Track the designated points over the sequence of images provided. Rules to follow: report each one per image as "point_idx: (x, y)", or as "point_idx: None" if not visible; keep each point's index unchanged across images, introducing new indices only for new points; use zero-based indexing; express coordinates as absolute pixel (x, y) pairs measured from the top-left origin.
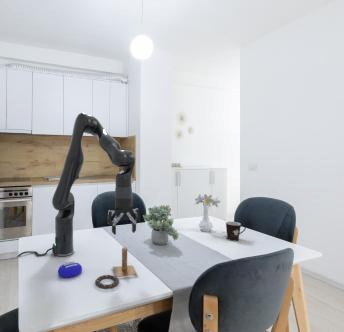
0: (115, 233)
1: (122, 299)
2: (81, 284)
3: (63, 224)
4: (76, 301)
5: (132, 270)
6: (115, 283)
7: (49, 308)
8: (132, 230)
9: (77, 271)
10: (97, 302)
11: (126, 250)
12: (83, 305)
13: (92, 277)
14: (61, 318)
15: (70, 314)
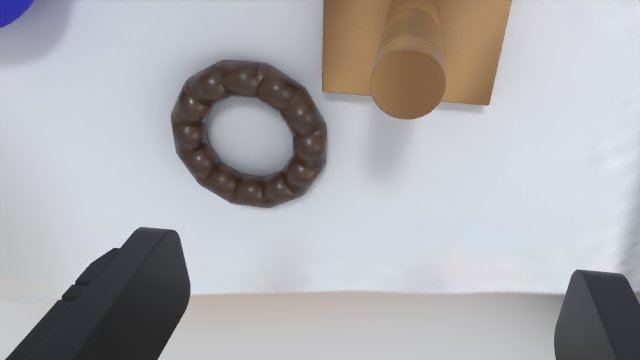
0: (175, 315)
1: (315, 272)
2: (95, 83)
3: None
4: (102, 221)
5: (482, 34)
6: (291, 196)
7: (4, 229)
8: (575, 325)
9: (14, 13)
10: (197, 255)
11: (423, 110)
12: None
13: (155, 10)
14: None
15: None
